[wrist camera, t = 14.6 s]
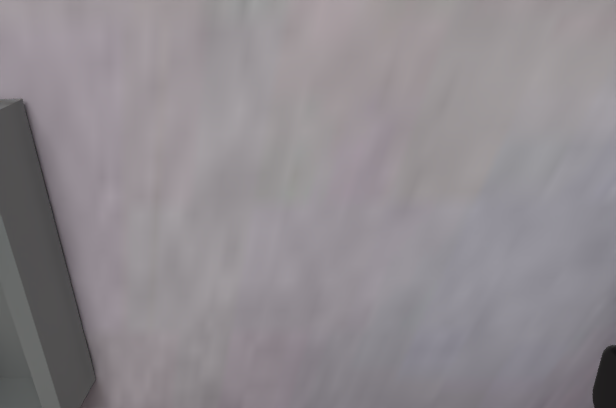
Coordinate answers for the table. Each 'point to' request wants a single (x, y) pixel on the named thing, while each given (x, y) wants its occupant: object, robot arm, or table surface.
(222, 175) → the table surface
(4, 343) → the tray
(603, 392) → the robot arm
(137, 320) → the table surface
